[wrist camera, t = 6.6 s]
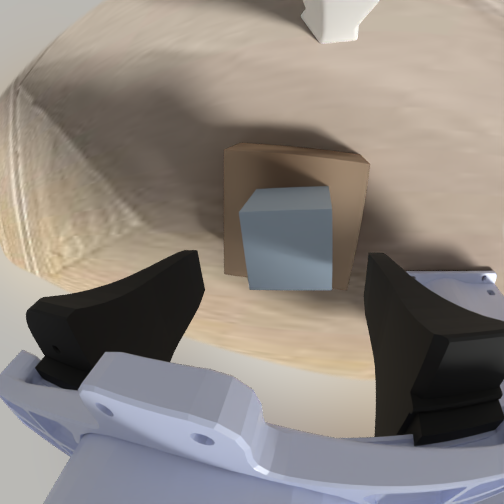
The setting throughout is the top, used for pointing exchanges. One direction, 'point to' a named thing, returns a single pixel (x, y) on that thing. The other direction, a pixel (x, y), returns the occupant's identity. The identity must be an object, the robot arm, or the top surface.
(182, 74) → the top surface
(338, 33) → the perfume bottle
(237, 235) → the walnut block
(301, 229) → the slate-blue cube
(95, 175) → the top surface
